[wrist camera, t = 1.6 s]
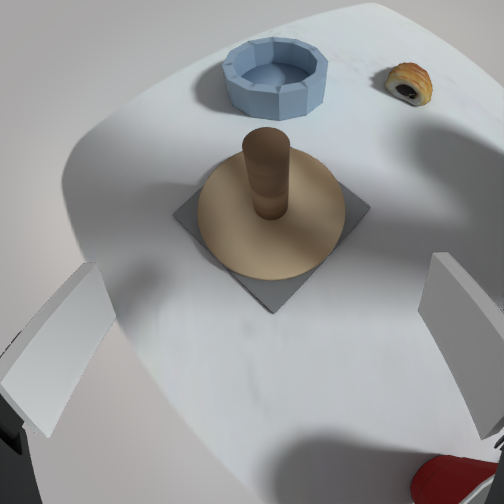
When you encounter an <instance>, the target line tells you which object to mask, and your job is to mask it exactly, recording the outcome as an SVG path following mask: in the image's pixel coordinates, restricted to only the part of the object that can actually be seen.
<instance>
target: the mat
mask: <svg viewBox="0 0 504 504" xmlns="http://www.w3.org/2000/svg"><path fill="white" fill-rule="evenodd" d="M290 148H292V147H290ZM337 182H338V181H337ZM338 184H339V186H340V188H341V191H342V194H343V197H344V202H345V221H344V226H343V230H342V232H341V235H340V237H339V239H338V241H337V243H336V245H335V247H334V248H333V250H334V249H335V248H336V247H337V246H338V245H339V244H340V242H341V241H342V240H343V239H344V238H345V237H346V236H347V234H348V233H349V232H350V231H351V230H352V229H353V228H354V226H355V225H356V224H357V223H358V222H359V221H360V219H361V218H362V217H363V216H364V215H365V214H366V212H367V211H368V210H369V209H370V206H368V205H367V204H366V203H365V202H364V201H362V200H361V199H360V198H359V197H357V196H356V195H355V194H354V193H352V192H351V191H350V190H349V189H347V188H346V187H345V186H344V185H342V184H341V183H340V182H338ZM203 187H204V186H203ZM203 187H202V188H201V189H200V190H199V191H198V192H196V193H195V194H194V195H193V196H192V197H191V198H190V199H189V200H188V201H187V202H186V203H185V204H183V205H182V206H181V207H180V208H179V209H178V210H177V211H176V212H175V213H174V214H173V216H174V217H175V218H176V219H177V220H178V221H179V222H180V223H181V224H182V225H183V226H184V227H185V228H186V229H187V230H188V231H189V232H190V233H191V234H192V235H193V236H194V237H195V238H196V239H197V240H198V241H199V242H200V243H201V244H202V245H203V246H204V247H205V248H206V249H207V250H208V251H209V252H210V253H211V254H212V252H211V251H210V249H209V248H208V246H207V245H206V243H205V241H204V239H203V237H202V235H201V232H200V228H199V224H198V217H197V208H198V202H199V197H200V194H201V191H202V189H203ZM333 250H332V251H333ZM332 251H331V253H332ZM331 253H330V254H331ZM330 254H329V255H330ZM212 255H213V254H212ZM329 255H328V256H329ZM213 256H214V255H213ZM328 256H327V257H328ZM214 257H215V256H214ZM327 257H326V258H327ZM215 258H216V257H215ZM326 258H325V259H326ZM216 259H217V258H216ZM325 259H324V260H325ZM217 260H218V259H217ZM324 260H323V261H324ZM218 261H219V260H218ZM323 261H322V262H321V263H320V264H319V265H318V266H316V267H315V268H313V269H312V270H310V271H308V272H306V273H304V274H302V275H300V276H297V277H294V278H290V279H286V280H279V281H262V280H256V279H251V278H248V277H245V276H242V275H240V274H238V273H236V272H234V271H232V270H230V269H229V268H227V267H226V266H225V265H223V264H222V263H221V262H220V261H219V262H220V263H221V264H222V265H223V266H224V267H225V268H227V269H228V270H229V271H230V272H231V273H232V274H233V275H234V276H235V277H236V278H237V279H238V280H239V281H240V282H241V283H242V284H243V285H244V286H245V287H246V288H247V289H248V290H249V291H250V292H251V293H252V294H253V295H255V296H256V297H257V298H258V299H259V300H260V301H261V302H262V303H263V304H264V305H265V306H266V307H267V308H268V309H269V310H270V311H271V312H272V313H273V314H275V313H276V312H277V311H278V310H279V309H280V308H281V306H282V305H283V304H284V303H285V302H286V301H287V300H288V299H289V298H290V297H291V296H292V295H293V294H294V293H295V292H296V291H297V290H298V289H299V288H300V286H301V285H302V284H303V283H304V282H305V281H306V280H307V279H308V278H309V277H310V276H311V275H312V274H313V272H314V271H315V270H316V269H317V268H318V267H319V266H320V265H321V264H322V263H323Z"/></svg>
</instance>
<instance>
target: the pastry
mask: <svg viewBox="0 0 504 504" xmlns="http://www.w3.org/2000/svg"><path fill="white" fill-rule="evenodd" d="M385 87H386V88H387V91H388V92H390V93H391V94H392V95H394V96H395V97H397V98H400V99H402V100H405V101H408V102H409V103H411V104H413V105H416V106H422V105H425V104H427V103H428V102H430V100H431V95H432V91H433V90H432V84H431V80H430V78H429V75H428V73H427V71H426V70H424V69H422V68H421V67H419V66H418V65H417V64H415V63H402V64H399V65H398V66H396V67H394V68H393V70H392V71H391V72H390V73H389V76H388V80H387V82H385Z"/></svg>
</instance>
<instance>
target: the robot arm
mask: <svg viewBox="0 0 504 504" xmlns="http://www.w3.org/2000/svg"><path fill="white" fill-rule="evenodd" d="M418 312H419V313H420V315H421V317H422V319H423V320H424V322H425V324H426V326H427V327H428V329H429V331H430V333H431V334H432V336H433V338H434V340H435V342H436V344H437V345H438V347H439V349H440V351H441V353H442V355H443V357H444V359H445V361H446V363H447V365H448V367H449V369H450V371H451V373H452V375H453V377H454V379H455V381H456V383H457V385H458V387H459V389H460V391H461V393H462V396H463V398H464V400H465V402H466V404H467V407H468V409H469V411H470V414H471V416H472V418H473V421H474V423H475V426H476V428H477V431H478V433H479V436H480V438H481V440H483V439H485V438H488V437H490V436H492V435H494V434H496V433H498V432H499V431H500V430H501V429H502V428H503V427H504V314H503V313H502V312H501V310H500V309H499V308H498V307H497V306H496V304H495V303H494V302H493V301H492V300H491V298H490V297H489V296H488V295H487V294H486V293H485V291H484V290H483V289H482V288H481V287H480V286H479V285H478V284H477V282H476V281H475V280H474V279H473V278H472V277H471V276H470V275H469V274H468V273H467V272H466V270H465V269H464V268H463V267H462V266H461V265H460V264H459V263H458V262H457V261H456V260H455V259H454V258H453V257H452V256H451V255H450V254H449V253H448V252H437V253H432V257H431V262H430V266H429V270H428V274H427V278H426V282H425V286H424V290H423V294H422V297H421V301H420V305H419V308H418ZM115 319H116V314H115V312H114V309H113V306H112V304H111V301H110V298H109V295H108V292H107V290H106V287H105V284H104V281H103V278H102V275H101V272H100V268H99V265H98V263H83V264H82V265H81V266H80V267H79V268H78V270H76V271H75V272H74V273H73V275H71V277H70V278H69V279H68V280H67V281H66V282H65V283H64V284H63V285H62V286H61V287H60V288H59V289H58V290H57V291H56V292H55V294H54V295H53V296H52V297H51V298H50V299H49V300H48V301H47V302H46V304H45V305H44V306H43V307H42V308H41V309H40V310H39V311H38V313H37V314H36V315H35V316H34V317H33V318H32V319H31V321H30V322H29V323H28V324H27V325H26V327H25V328H24V329H23V330H22V331H21V332H19V333H18V335H17V336H16V337H15V338H14V339H13V341H12V342H11V344H10V345H9V346H8V347H7V348H6V351H5V352H3V354H2V355H1V356H0V504H42V500H41V497H40V494H39V490H38V486H37V483H36V479H35V475H34V471H33V466H32V462H31V457H30V453H29V446H28V441H27V435H26V432H25V430H24V429H23V428H22V425H23V423H24V422H25V423H26V424H27V425H28V426H29V427H30V428H31V429H32V430H33V431H34V432H35V433H38V434H40V435H42V436H44V437H47V438H50V436H51V433H52V431H53V429H54V427H55V425H56V423H57V421H58V419H59V417H60V415H61V413H62V411H63V409H64V408H65V405H66V404H67V401H68V400H69V398H70V396H71V394H72V392H73V391H74V389H75V387H76V385H77V383H78V381H79V380H80V378H81V376H82V374H83V372H84V371H85V369H86V367H87V365H88V364H89V362H90V360H91V358H92V357H93V355H94V353H95V352H96V350H97V348H98V346H99V345H100V343H101V342H102V340H103V338H104V336H105V335H106V333H107V332H108V330H109V328H110V327H111V325H112V323H113V322H114V320H115ZM503 441H504V435H503V436H502V437H501V438H500V439H499V440H498V441H497V442H496V444H495V446H494V448H497V447H498V446H499V445H500V444H501V443H502V442H503ZM500 450H502V453H501V456H500V460H499V463H498V467H497V470H496V473H495V476H494V479H493V482H492V485H491V487H490V490H489V493H488V495H487V498H486V501H485V503H484V504H504V445H503V446H502V447H501V448H500Z"/></svg>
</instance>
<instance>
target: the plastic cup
mask: <svg viewBox="0 0 504 504" xmlns="http://www.w3.org/2000/svg"><path fill="white" fill-rule="evenodd" d="M497 467H498V463H493V462H487V461H481V460H475V459H470V458H465V457H462V458H460V457H456V456H452V455H442V456H437V457H435V458H433V459H431V460H429V461H427V462H426V463H425V464H424V465H423V466H422V467H421V468H420V469H419V470H418V472H417V473H416V474H415V476H414V477H413V480H412V483H411V486H410V488H411V495H412V499H413V501H414V503H415V504H484V503H485V501H486V498H487V495H488V493H489V490H490V487H491V485H492V482H493V479H494V476H495V473H496V470H497Z"/></svg>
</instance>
